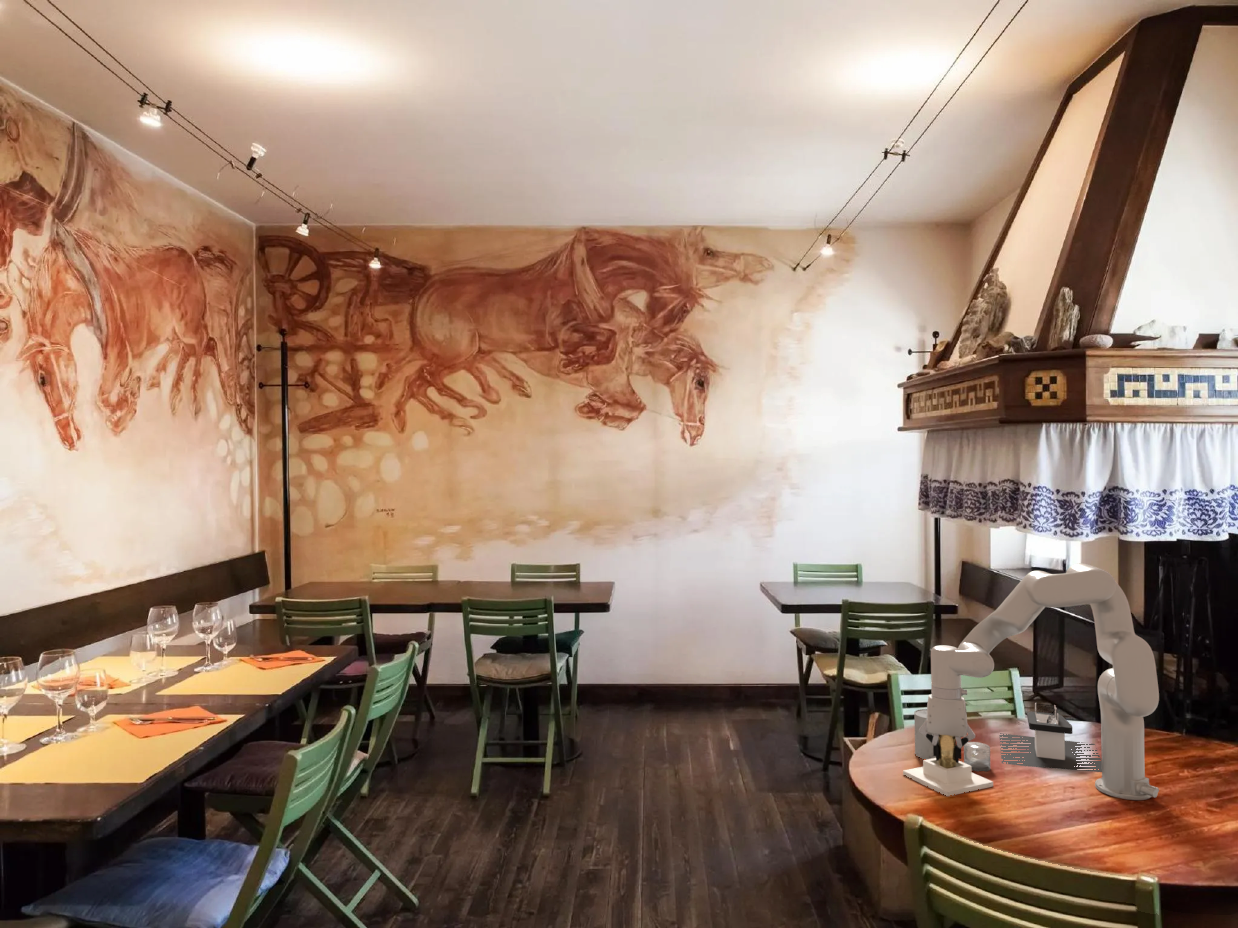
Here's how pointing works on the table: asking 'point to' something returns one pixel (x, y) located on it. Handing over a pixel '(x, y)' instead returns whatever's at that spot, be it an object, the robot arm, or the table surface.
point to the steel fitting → (977, 756)
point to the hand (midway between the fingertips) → (947, 759)
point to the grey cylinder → (922, 737)
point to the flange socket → (948, 777)
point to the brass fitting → (947, 751)
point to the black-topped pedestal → (1048, 744)
